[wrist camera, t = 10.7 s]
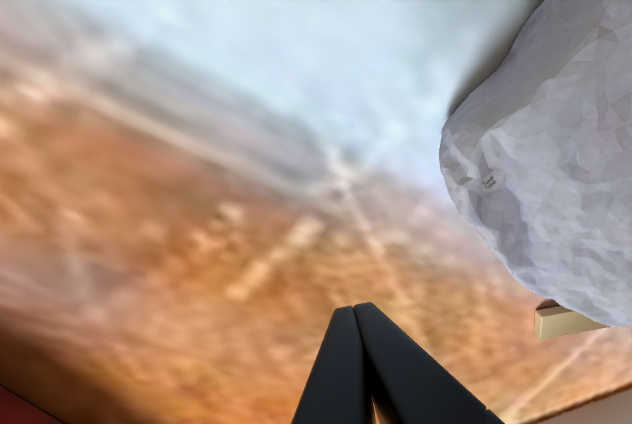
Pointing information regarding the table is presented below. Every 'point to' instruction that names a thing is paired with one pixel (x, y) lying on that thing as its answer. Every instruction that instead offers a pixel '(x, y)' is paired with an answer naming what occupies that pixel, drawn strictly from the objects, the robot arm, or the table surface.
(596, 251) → the stone block
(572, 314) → the maple strip
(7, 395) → the hardcover book
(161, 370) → the table surface
